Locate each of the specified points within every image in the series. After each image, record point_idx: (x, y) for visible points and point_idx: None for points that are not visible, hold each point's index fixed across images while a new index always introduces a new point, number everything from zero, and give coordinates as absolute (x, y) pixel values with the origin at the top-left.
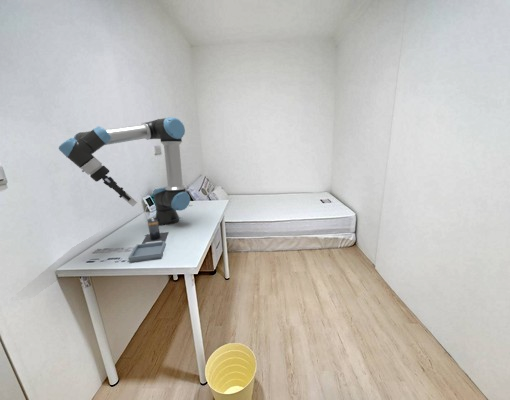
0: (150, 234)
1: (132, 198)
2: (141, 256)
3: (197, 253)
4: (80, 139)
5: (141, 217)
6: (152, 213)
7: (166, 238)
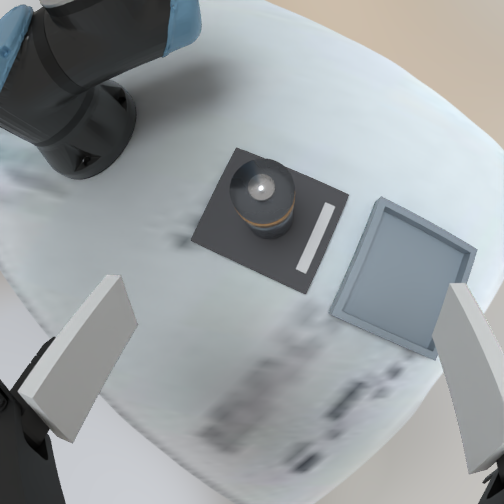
0: (275, 234)
1: (491, 336)
2: None
3: (486, 144)
4: None
5: None
6: None
7: (310, 177)
